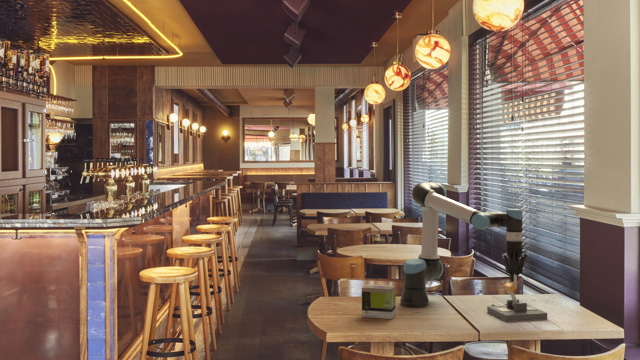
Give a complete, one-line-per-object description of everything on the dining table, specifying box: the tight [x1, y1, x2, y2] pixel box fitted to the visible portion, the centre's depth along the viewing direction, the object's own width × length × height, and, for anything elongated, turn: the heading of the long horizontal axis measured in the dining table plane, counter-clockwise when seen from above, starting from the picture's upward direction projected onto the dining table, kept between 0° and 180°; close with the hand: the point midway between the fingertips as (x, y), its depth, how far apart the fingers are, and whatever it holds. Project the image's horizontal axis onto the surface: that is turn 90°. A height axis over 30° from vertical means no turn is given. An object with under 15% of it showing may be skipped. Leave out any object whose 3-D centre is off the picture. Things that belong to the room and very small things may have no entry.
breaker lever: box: [503, 281, 518, 307], centre depth 289 cm, size 3×5×13 cm, turn 12°
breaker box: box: [486, 298, 548, 323], centre depth 293 cm, size 22×26×7 cm
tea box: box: [361, 283, 397, 320], centre depth 288 cm, size 15×10×15 cm, turn 71°
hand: (514, 287), depth 289 cm, fingers closed
